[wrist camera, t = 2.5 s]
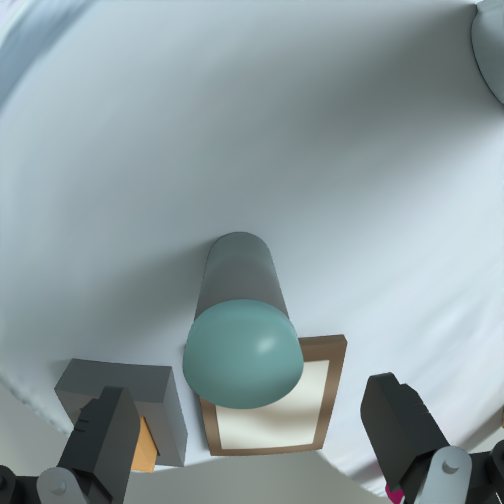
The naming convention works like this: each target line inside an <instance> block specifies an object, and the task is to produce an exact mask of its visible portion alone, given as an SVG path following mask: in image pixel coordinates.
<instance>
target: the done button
mask: <svg viewBox="0 0 504 504" xmlns="http://www.w3.org/2000/svg"><path fill="white" fill-rule="evenodd" d="M139 417H140V424H141V428H140V434H139V438H138V442H137V446H136V450H135V454H134V458H133V462H132V466H131V470H137V471H144V472H152V473H153V471H154V465H155V460H156V455H157V450H158V449H157V446H156V444H155V441H154V439H153V437H152V434H151V432H150V429H149V426H148V424H147V421H146V419H145V417H141V416H139Z"/></svg>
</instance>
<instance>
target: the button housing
mask: <svg viewBox="0 0 504 504" xmlns="http://www.w3.org/2000/svg"><path fill="white" fill-rule="evenodd" d="M106 385H109V386H120V387H127V388H128V389H129V390H130V393H131V396H132V398H133V401H134V404H135V406H136V409H137V411H138V414H139V416H141V417H145V419H146V421H147V424H148V426H149V429H150V432H151V434H152V437H153V439H154V441H155V444H156V446H157V449H158V450H157V455H156V460H155V465H164V466H175V467H184V461H185V452H186V444H187V436H188V433H187V429H186V426H185V422H184V418H183V414H182V410H181V406H180V402H179V398H178V393H177V389H176V385H175V380H174V376H173V371H172V367H169V366H147V365H131V364H118V363H106V362H96V361H87V360H78V359H72V360H71V362H70V364H69V365H68V367H67V368H66V370H65V372H64V373H63V375H62V377H61V378H60V380H59V382H58V383H57V385H56V387H55V388H54V390H55V392H56V394H57V396H58V398H59V400H60V402H61V404H62V406H63V407H64V409H65V411H66V413H67V415H68V416H69V418H70V420H71V422H72V423H73V425H74V426H75V424H76V421H77V422H78V417H79V415H80V413H81V411H82V408H83V407H84V406H85V405H86V404H87V403H88V402H89V401H90V400H91V399H92V398H95V399H99V397H100V395H101V393H102V390H103V388H104V387H105V386H106Z"/></svg>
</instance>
